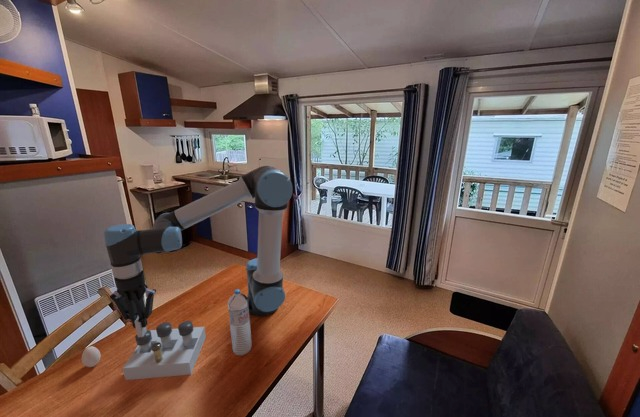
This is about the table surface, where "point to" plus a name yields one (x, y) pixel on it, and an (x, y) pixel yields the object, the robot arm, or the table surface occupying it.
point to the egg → (90, 356)
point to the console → (166, 357)
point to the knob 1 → (144, 342)
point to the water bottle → (239, 323)
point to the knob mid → (165, 334)
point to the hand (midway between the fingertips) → (142, 334)
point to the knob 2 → (186, 332)
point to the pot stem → (157, 352)
